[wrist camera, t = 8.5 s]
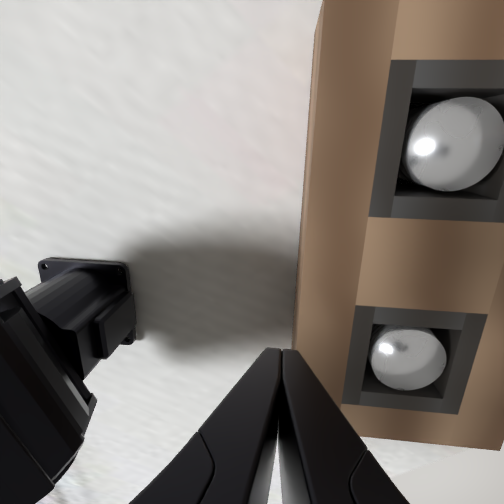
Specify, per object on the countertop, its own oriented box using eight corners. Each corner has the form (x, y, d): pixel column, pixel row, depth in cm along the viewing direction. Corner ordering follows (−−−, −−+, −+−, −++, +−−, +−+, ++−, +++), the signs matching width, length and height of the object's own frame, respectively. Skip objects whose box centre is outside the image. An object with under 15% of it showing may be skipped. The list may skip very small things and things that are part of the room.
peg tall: (351, 337, 22) (367, 387, 18) (358, 288, 21) (377, 328, 17) (407, 342, 22) (438, 393, 18) (417, 292, 21) (453, 334, 16)
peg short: (374, 178, 19) (401, 189, 14) (384, 107, 18) (418, 96, 13) (441, 180, 19) (491, 192, 14) (457, 108, 17) (517, 97, 13)
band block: (289, 372, 24) (290, 428, 19) (314, 33, 17) (325, -10, 12) (456, 387, 23) (499, 450, 18) (559, 31, 16) (674, -16, 11)
